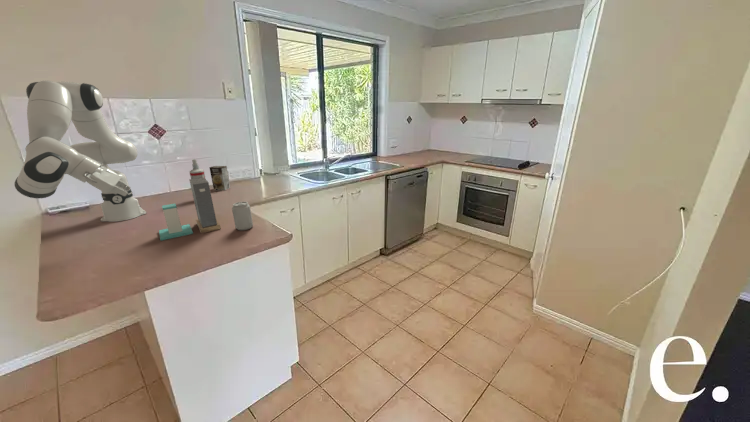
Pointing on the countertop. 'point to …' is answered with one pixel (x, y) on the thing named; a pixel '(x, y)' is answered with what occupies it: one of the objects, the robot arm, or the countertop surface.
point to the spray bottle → (196, 171)
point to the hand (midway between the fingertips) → (128, 191)
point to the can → (242, 215)
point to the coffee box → (220, 177)
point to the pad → (165, 233)
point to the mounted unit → (204, 205)
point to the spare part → (172, 218)
